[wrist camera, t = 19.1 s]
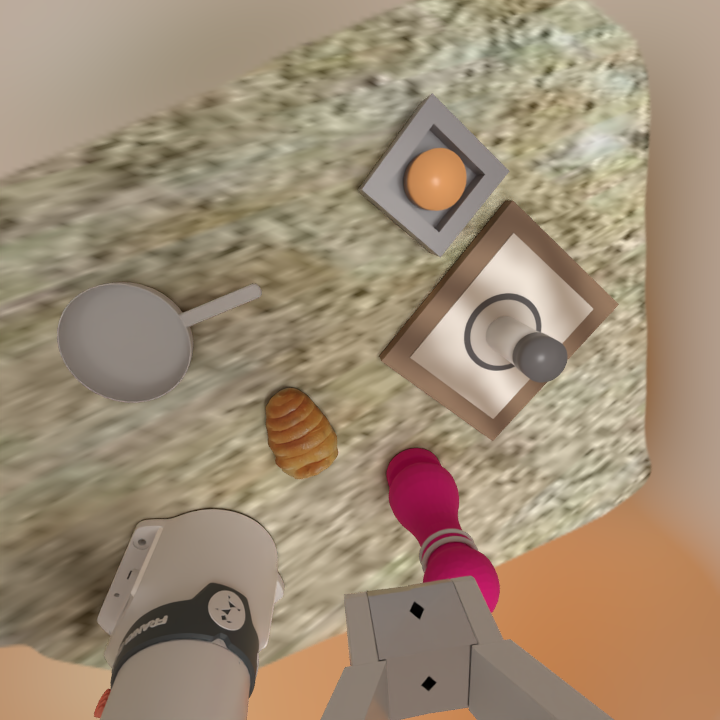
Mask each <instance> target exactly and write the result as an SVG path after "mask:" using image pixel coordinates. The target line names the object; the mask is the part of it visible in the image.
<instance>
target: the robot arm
mask: <svg viewBox="0 0 720 720" xmlns="http://www.w3.org/2000/svg"><path fill="white" fill-rule="evenodd" d="M141 539H144V540H145V541H143V540H141ZM277 559H278V557H277V550H276V546H275V543H274V541H273V539H272V538H271V536H270V535H269V533H268V532H267V531H266V530H265V529H264V528H263V527H262V526H261V525H260V524H258V523H257V522H256V521H254V520H252V519H251V518H249V517H247V516H244V515H242V514H239V513H236V512H232V511H227V510H218V509H207V510H198V511H193V512H189V513H186V514H183V515H180V516H178V517H175V518H171V519H151V520H144V521H141V522H139V523H138V524H137V526H136V528H135V530H134V532H133V535H132V537H131V539H130V542H129V544H128V546H127V549H126V551H125V553H124V556H123V558H122V560H121V563H120V565H119V567H118V570H117V572H116V574H115V577H114V579H113V581H112V584H111V586H110V588H109V591H108V593H107V595H106V598H105V600H104V602H103V605H102V607H101V610H100V612H99V615H98V618H97V622H98V624H99V625H100V626H101V627H102V629H103V630H104V631H105V632H107V633H108V634H109V635H110V639H109V641H108V643H107V646H106V648H105V651H104V657H105V660H106V662H107V663H108V664H109V666H110V667H112V677H111V689H107V690H106V691H105V692H104V694H103V695H102V697H101V699H100V700H99V703H98V705H97V707H96V709H95V712H94V717H98V718H100V720H247V712H248V699H249V698H250V696H251V694H252V692H253V689H254V686H255V679H256V676H257V672H258V664H259V652H260V651H261V650H262V649H263V648H265V647H266V645H267V643H268V640H269V634H270V628H271V622H272V615H273V609H274V604H275V603H276V602H277V601H278V600H280V599H281V598H282V596H283V594H284V588H285V586H284V582H283V580H282V578H281V576H280V575H279V573H278V569H277ZM344 602H345V613H346V624H347V635H348V647H349V657H350V665H351V666H349V667H345V668H344V670H343V673H342V675H341V677H340V679H339V681H338V683H337V686H336V688H335V690H334V692H333V694H332V696H331V698H330V701H329V703H328V705H327V707H326V709H325V711H324V714H323V716H322V718H321V720H401V719H405V718H410V717H415V716H419V715H424V714H428V713H435V712H442V711H448V710H455V709H461V708H468V707H469V711H470V712H471V713H472V714H473V715H474V716H475V718H476V719H477V720H614V719H613V718H611V717H610V716H609V715H607V714H606V713H605V712H604V711H602V710H601V709H600V708H598V707H597V706H596V705H594V704H593V703H592V702H591V701H589V700H588V699H587V698H585V697H584V696H583V695H581V694H580V693H579V692H578V691H576V690H575V689H574V688H572V687H571V686H570V685H569V684H567V683H566V682H565V681H563V680H562V679H561V678H560V677H558V676H557V675H556V674H554V673H553V672H552V671H551V670H549V669H548V668H547V667H545V666H544V665H543V664H542V663H540V662H539V661H538V660H536V659H535V658H534V657H533V656H531V655H530V654H529V653H527V652H526V651H525V650H524V649H522V648H521V647H520V646H518V645H517V644H516V643H514V642H513V641H512V640H510V639H509V640H503V638H502V635H501V633H500V631H499V629H498V627H497V625H496V623H495V620H494V618H493V616H492V614H491V612H490V610H489V608H488V606H487V604H486V601H485V599H484V597H483V595H482V593H481V591H480V589H479V587H478V584H477V582H476V580H475V578H473V577H472V576H464V577H458V578H451V579H443V580H437V581H431V582H425V583H419V584H413V585H408V586H405V587H397V588H389V589H380V590H372V591H367V592H359V593H351V594H344Z"/></svg>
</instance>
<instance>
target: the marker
mask: <svg viewBox="0 0 720 720" xmlns="http://www.w3.org/2000/svg"><path fill="white" fill-rule="evenodd" d="M486 341H487V343H488V345H489V346H490V347H491V348H492V349H493V350H495V351H496V352H497V353H499V354H500V355H501V356H503V357H504V358H505V359H507V360H508V361H509V362H510V363H512V364H513V365H514V366H515V367H516V368H517V369H518V370H519V371H520V372H522V373H523V374H524V375H526V376H527V377H528V378H530V379H531V380H533V381H535V382H540V383H543V382H548V381H551V380H553V379H555V378H556V377H557V376H558V375H560V373H561V372H562V371H563V370H564V368H565V366H566V363H567V357H568V355H567V350H566V348H565V346H564V345H563V344H562V343H561V342H559V341H557V340H556V339H554V338H552V337H550V336H548V335H546V334H544V333H541V332H538V331H536V330H534V329H533V328H531V327H529V326H527V325H525V324H523V323H522V322H520V321H518V320H516V319H514V318H512V317H509V316H503V317H499V318H497V319H495V320H494V321H493V322H492V323H491V324H490V325H489V327H488V329H487V331H486Z"/></svg>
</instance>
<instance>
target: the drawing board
mask: <svg viewBox="0 0 720 720" xmlns="http://www.w3.org/2000/svg"><path fill="white" fill-rule="evenodd" d="M618 305H619V304H618V303H617V302H616V301H615V300H614V299H613V298H612V297H611V296H610V295H608V294H607V293H606V292H605V291H604V290H603V289H602V288H601V287H600V286H599V285H598V284H597V283H596V282H595V281H594V280H593V279H592V278H591V277H590V276H589V275H588V274H587V273H586V272H585V271H584V270H583V269H582V268H581V267H580V266H579V265H578V264H577V263H576V262H575V261H574V260H573V259H572V258H571V257H570V256H569V255H568V254H567V253H566V252H565V251H564V250H563V249H562V248H561V247H560V246H559V245H558V244H557V243H556V242H555V241H554V240H553V239H552V238H551V237H550V236H549V235H548V234H547V233H545V232H544V231H543V230H542V229H541V228H540V227H539V226H538V225H537V224H536V223H535V222H534V221H533V220H532V219H531V218H530V217H529V216H528V215H527V214H526V213H525V212H524V211H523V210H522V209H521V208H520V207H519V206H518V205H517V204H516V203H515V202H514V201H505V202H504V203H503V204H502V206H501V207H500V208H499V209H498V211H497V212H496V213H495V214H494V216H493V217H492V218H491V219H490V220H489V222H488V223H487V224H486V225H485V227H484V228H483V229H482V230H481V232H480V233H479V234H478V235H477V236H476V238H475V239H474V240H473V241H472V243H471V244H470V245H469V246H468V248H467V249H466V250H465V251H464V252H463V254H462V255H461V256H460V257H459V259H458V260H457V261H456V262H455V264H454V265H453V266H452V267H451V268H450V270H449V271H448V272H447V273H446V275H445V276H444V277H443V278H442V280H441V281H440V282H439V283H438V284H437V286H436V287H435V288H434V289H433V291H432V292H431V293H430V294H429V296H428V297H427V298H426V299H425V300H424V302H423V303H422V304H421V305H420V307H419V308H418V309H417V310H416V312H415V313H414V314H413V315H412V316H411V318H410V319H409V320H408V321H407V323H406V324H405V325H404V326H403V327H402V329H401V330H400V331H399V332H398V334H397V335H396V336H395V337H394V339H393V340H392V341H391V342H390V343H389V345H388V346H387V347H386V348H385V350H384V351H383V352H382V353H381V355H380V356H379V357H380V359H381V361H382V362H383V363H385V364H386V365H388V366H389V367H390V368H392V369H393V370H394V371H396V372H397V373H399V374H400V375H401V376H403V377H404V378H406V379H407V380H408V381H410V382H411V383H413V384H414V385H415V386H417V387H418V388H420V389H421V390H422V391H424V392H425V393H427V394H428V395H429V396H431V397H432V398H434V399H435V400H436V401H438V402H439V403H441V404H442V405H443V406H445V407H446V408H447V409H449V410H450V411H452V412H453V413H454V414H456V415H457V416H459V417H460V418H461V419H463V420H464V421H466V422H467V423H468V424H470V425H471V426H473V427H474V428H475V429H477V430H478V431H480V432H481V433H482V434H484V435H485V436H487V437H488V438H489V439H491V440H492V441H493V440H494V439H495V438H496V437H497V436H498V435H499V434H500V432H501V431H502V430H503V429H504V428H505V427H506V426H507V425H508V424H509V423H510V422H511V421H512V419H513V418H514V417H515V416H516V415H517V414H518V413H519V412H520V411H521V410H522V409H523V408H524V407H525V405H526V404H527V403H528V402H529V401H530V400H531V399H532V398H533V397H534V396H535V395H536V394H537V392H538V391H539V390H540V389H541V388H542V387H543V386H544V385H545V384H546V383H547V382H543V383H540V382H535V381H533V380H531V379H530V378H528V377H527V376H526V375H524V374H523V373H522V372H520V371H519V370H518V369H517V368H516V367H515V366H514V365H513V364H512V363H510V362H509V361H508V360H507V359H505V358H504V357H503V356H501V355H500V354H499V353H497V352H496V351H495V350H493V349H492V348H491V347H490V346H489V345H488V343H487V341H486V331H487V329H488V327H489V325H490V324H491V323H492V322H493V321H494V320H495V319H497V318H499V317H503V316H509V317H512V318H514V319H516V320H518V321H520V322H522V323H523V324H525V325H527V326H529V327H531V328H533V329H534V330H536V331H538V332H541V333H544V334H546V335H548V336H550V337H552V338H554V339H556V340H557V341H559V342H561V343H562V344H563V345H564V346H565V348H566V350H567V355H568V357H567V360H568V359H569V358H570V357H571V356H572V355H573V353H574V352H575V351H576V350H577V349H578V348H579V347H580V346H581V345H582V344H583V343H584V342H585V340H586V339H587V338H588V337H589V336H590V335H591V334H592V333H593V332H594V331H595V330H596V329H597V327H598V326H599V325H600V324H601V323H602V322H603V321H604V320H605V319H606V318H607V317H608V316H609V314H610V313H611V312H612V311H613V310H614V309H615V308H616V307H617V306H618Z"/></svg>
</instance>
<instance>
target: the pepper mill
mask: <svg viewBox="0 0 720 720" xmlns="http://www.w3.org/2000/svg"><path fill="white" fill-rule="evenodd" d="M386 476H387V481H388V484H389V487H390V490H389V503H390V506H391V508H392V511H393V513H394V515H395V517H396V518H397V519H398V521H399V522H400V523H401V524H402V526H404V527H405V528H406V529H407V530H408V531H410V532H411V533H412V534H413V535H414V536H415V537H416V539H417V540H418V541H419V544H420V546H421V549H420V553H419V559H420V563H421V565H422V569H423V572H424V573H425V574H424V578H423V583H425V582H431V581H437V580H443V579H451V578H458V577H464V576H472V577H473V578H475V580H476V582H477V584H478V587H479V589H480V591H481V593H482V595H483V597H484V599H485V601H486V604H487V606H488V608H489V610H490V612H491V613H492V612H493V610H494V609H495V607H496V604H497V602H498V598H499V593H500V585H499V580H498V576H497V573H496V571H495V568H494V567H493V565H492V563H491V562H490V560H489V559H488V558H487V557H486V556H485V555H484V554H482V553H480V552H479V551H478V549H477V547H476V545H475V544H474V541H473V539H472V538H471V536H470V535H469V534H468V533H466V532H464V531H462V529H461V527H460V524H459V521H458V508H459V495H458V489H457V486H456V483H455V481H454V479H453V477H452V476H451V474H450V473H449V472H448V471H447V470H446V469H445V468H443V467H442V466H441V464H440V462H439V461H438V459H437V457H436V456H435V455H434V454H433V453H432V452H430V451H428V450H425V449H421V448H412V449H407V450H405V451H403V452H400V453H399V454H397V455H396V456H395V457H394V458H393V459H392V461H391V462H390V464H389V466H388V469H387V475H386Z"/></svg>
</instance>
